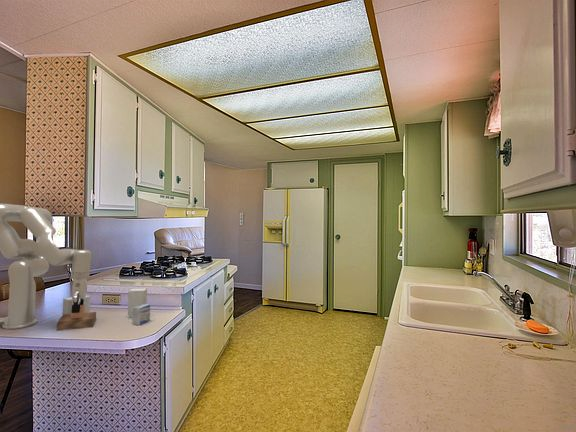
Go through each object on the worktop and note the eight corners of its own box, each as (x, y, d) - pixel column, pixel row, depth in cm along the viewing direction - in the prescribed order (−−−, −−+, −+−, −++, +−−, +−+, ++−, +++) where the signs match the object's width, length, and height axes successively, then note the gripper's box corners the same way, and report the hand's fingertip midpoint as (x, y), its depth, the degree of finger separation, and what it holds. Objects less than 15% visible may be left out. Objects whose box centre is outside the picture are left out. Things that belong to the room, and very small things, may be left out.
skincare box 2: (146, 314, 164) (148, 287, 164) (143, 317, 158) (144, 290, 158) (130, 314, 162) (131, 287, 163) (126, 318, 156) (128, 290, 157)
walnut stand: (56, 330, 135) (57, 321, 135) (62, 322, 146) (63, 314, 146) (92, 326, 142) (93, 318, 142) (95, 319, 152) (96, 311, 152)
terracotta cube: (70, 318, 141) (71, 308, 141) (72, 315, 145) (73, 305, 145) (83, 317, 143) (83, 307, 143) (84, 314, 147) (85, 304, 147)
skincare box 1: (83, 313, 162) (84, 294, 162) (89, 315, 159) (90, 296, 159) (61, 318, 153) (62, 298, 153) (67, 320, 150) (69, 299, 150)
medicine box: (139, 325, 146) (140, 308, 146) (131, 324, 147) (132, 307, 147) (149, 320, 154) (150, 304, 154) (142, 320, 155) (143, 303, 155)
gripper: (86, 277, 139) (83, 314, 138) (91, 272, 154) (89, 304, 153) (67, 278, 135) (64, 315, 135) (74, 272, 151) (71, 306, 150)
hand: (77, 309), depth 144 cm, fingers open, 9 cm apart
